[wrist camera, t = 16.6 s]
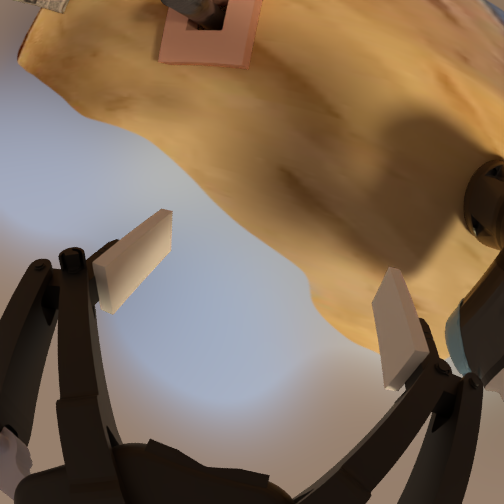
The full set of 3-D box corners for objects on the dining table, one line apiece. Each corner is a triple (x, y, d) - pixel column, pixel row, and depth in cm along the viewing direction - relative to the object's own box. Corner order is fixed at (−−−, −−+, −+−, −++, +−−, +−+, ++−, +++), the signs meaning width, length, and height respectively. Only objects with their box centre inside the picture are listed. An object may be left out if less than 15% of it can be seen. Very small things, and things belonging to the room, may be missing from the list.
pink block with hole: (266, -18, 28) (261, -28, 24) (248, 69, 36) (241, 65, 32) (187, -17, 29) (177, -25, 26) (170, 64, 37) (157, 62, 34)
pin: (230, 10, 31) (195, -23, 19) (226, 32, 33) (188, 4, 21) (206, 10, 32) (164, -19, 19) (201, 31, 34) (157, 7, 21)
